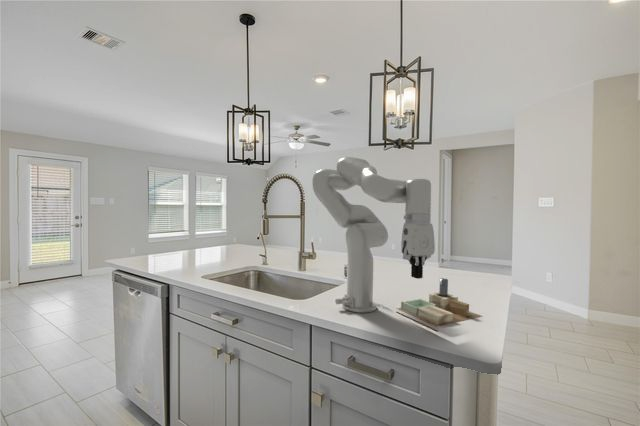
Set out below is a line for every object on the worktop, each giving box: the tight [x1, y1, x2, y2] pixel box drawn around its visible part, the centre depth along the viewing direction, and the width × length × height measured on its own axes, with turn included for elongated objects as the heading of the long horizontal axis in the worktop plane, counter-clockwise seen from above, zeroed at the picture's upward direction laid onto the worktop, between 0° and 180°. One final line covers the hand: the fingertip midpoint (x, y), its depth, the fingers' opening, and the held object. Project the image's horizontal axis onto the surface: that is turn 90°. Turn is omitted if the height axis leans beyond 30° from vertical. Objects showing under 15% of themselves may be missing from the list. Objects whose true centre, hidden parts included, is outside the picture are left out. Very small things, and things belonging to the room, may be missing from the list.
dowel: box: [438, 277, 449, 297], centre depth 111 cm, size 3×3×10 cm
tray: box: [400, 298, 437, 316], centre depth 106 cm, size 9×8×2 cm
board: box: [396, 299, 483, 332], centre depth 105 cm, size 22×18×6 cm
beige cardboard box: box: [418, 306, 453, 325], centre depth 98 cm, size 7×8×2 cm
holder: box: [428, 292, 459, 310], centre depth 111 cm, size 7×7×4 cm
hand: (416, 277), depth 94 cm, fingers closed
